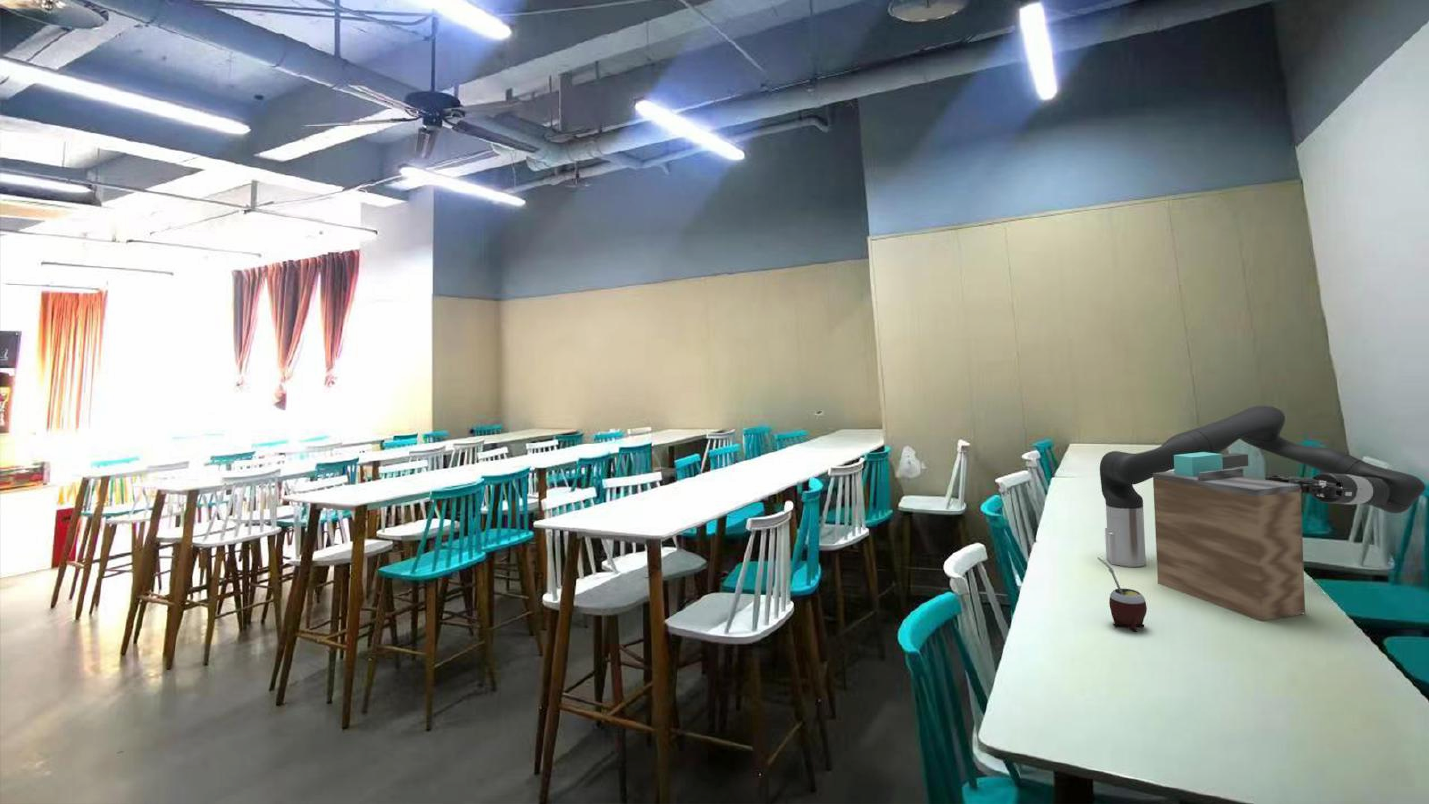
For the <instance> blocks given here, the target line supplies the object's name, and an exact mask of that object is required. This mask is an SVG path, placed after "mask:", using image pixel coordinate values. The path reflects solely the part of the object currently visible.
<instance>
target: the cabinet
mask: <svg viewBox="0 0 1429 804" xmlns="http://www.w3.org/2000/svg"><path fill="white" fill-rule="evenodd" d="M1197 475H1198V476H1196V477H1190V476H1184V475H1178V474H1175V472H1174V470H1169V471H1166V472H1159V473H1153V477H1152V485H1153V486H1152V487H1153V502H1154V503H1153V504H1154V527H1155V528H1154V529H1155V550H1156V551H1155V552H1156V570H1157V571H1156V572H1157V573H1156V574H1157V584H1159V585H1162V586H1165V587H1168V588H1169V589H1173V590H1175V591H1178V592H1181V593H1184V594H1187V595H1189V596H1192V597H1194V598H1196V599H1200V600H1203V601H1205V602H1208V603H1211V604H1213V605H1216V606H1219V607H1222V608H1224V609H1227V610H1230V611H1233V612H1235V613H1238V614H1241V615H1243V616H1246V617H1249V618H1252V619H1255V620H1257V621H1260V622H1263V621H1269V620H1270V621H1271V620H1276V619H1282V618H1289V617H1294V616H1295V615H1296V616H1300V615H1299V614H1303V613H1305V614H1306V604H1305V603H1306V600H1305V597H1306V596H1305V574H1304V549H1303V548H1304V545H1303V543H1304V542H1303V518H1302V515H1303V514H1302V492H1301V486H1300V485H1299V484H1292V483H1285V482H1278V481H1271V480H1265V479H1263V478H1258V477H1257V478H1256V477H1250V476H1244V468H1243V467H1242V468H1241V467H1234V468H1225V469H1223V470H1215V471H1206V472H1197ZM1303 615H1304V614H1303ZM1296 616H1295V617H1296Z"/></svg>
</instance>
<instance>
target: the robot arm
mask: <svg viewBox="0 0 1429 804" xmlns="http://www.w3.org/2000/svg"><path fill="white" fill-rule="evenodd" d="M1285 422H1286V417H1285V414H1284V413H1283V411H1282V410H1281V409H1279V408H1277V407H1275V406H1272V405H1271V406H1270V405H1257V406H1256V405H1255V406H1252V407H1248V408H1245V409H1244V410H1241V411H1240V412H1237V413H1234V414H1232V415H1230V416H1228V417H1225V418H1223V419H1220V420H1218V421H1214V422H1212V423H1208V424H1205V425H1202V426H1200V427H1197V428H1193V429H1189V430H1186V431H1184V432H1180V433H1178V434H1175V435H1173V436H1171V437H1170V438H1168V439H1167V440H1166V441H1165V442H1164V443H1163V444H1161V446H1158V447H1156V448H1154V449H1150V450H1146V451H1142V452H1136V453H1129V452H1125V451H1120V450H1119V451H1118V450H1113V451H1109V452H1107V453H1105V454H1104V455H1103V456H1102V458H1101V461H1100V465H1099V476H1100V477H1099V478H1100V485H1101V493H1102V496H1103V498H1104V501H1105V515H1106V517H1105V518H1106V527H1105V528H1104V534H1105V535H1104V537H1105V539H1104V540H1105V556H1106V560H1107V561H1108V563H1110V564H1111V565H1115V566H1120V567H1127V568H1129V567H1130V568H1135V567H1136V568H1140V567H1143V566H1144V567H1145V566H1146V564H1147V554H1146V535H1145V518H1144V517H1145V514H1144V513H1145V512H1144V500H1143V497H1142V495H1140V494H1139V493H1138V492H1137V491H1136V490H1135V487H1134V485H1138V484H1140V483H1143V482H1147V481H1148V480H1150V479H1153V473H1159V472H1168V471H1174V455H1180V454H1190V453H1199V452H1207V453H1216V454H1221V453H1222V452H1223V451H1225V450H1226V449H1228V448H1229V447H1230V446H1232V444H1234V443H1235V442H1237V441H1238V440H1241V441H1243V442H1244V443H1246V444H1248V445H1250V446H1252V447H1255V448H1257V449H1260V450H1263V451H1266V452H1268V453H1271V454H1274V455H1277V456H1280V457H1282V458H1285V459H1288V460H1292V461H1294V462H1297V463H1300V464H1303V465H1305V466H1308V467H1310V468H1312V469H1315V470H1317V471H1320V472H1321V473H1318V474H1316V475H1314V476H1313V477H1298V476H1292V475H1291V476H1287V475H1286V476H1285V475H1276V474H1272V476H1266V477H1265V479H1264V480H1271V481H1278V482H1285V483H1292V484H1299V485H1300V486H1301V494H1305V495H1312V497H1313V498H1314V499H1316V500H1317V501H1318V502H1321V503H1326V504H1338V505H1339V504H1340V505H1368V506H1371V507H1375V508H1378V509H1379V510H1382V511H1384V512H1386V513H1391V514H1401V513H1404V512H1406V511H1408V509H1410V508H1411V506H1412V505H1413V504H1414V503H1415V502H1417V500H1418V499H1419V498H1420V497H1421V496H1422V495H1423V494H1424V492H1425V491H1426V484H1425V482H1423V481H1422V479H1420V478H1419V477H1417V476H1415V475H1412V474H1409V473H1406V472H1401V471H1396V470H1392V469H1388V468H1385V467H1380V466H1378V465H1374V464H1371V463H1368V462H1366V461H1363V460H1361V459H1359V458H1357V457H1355V456H1352V455H1351V454H1348V453H1346V452H1343V451H1341V450H1339V449H1335V448H1330V447H1323V446H1311V445H1303V444H1298V443H1295V442H1291V441H1289V440H1287V439H1285V438H1283V437H1282V436H1280V434H1281V432H1282V430H1283V428H1284V427H1285V426H1284V425H1285Z"/></svg>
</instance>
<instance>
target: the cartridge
mask: <svg viewBox="0 0 1429 804" xmlns="http://www.w3.org/2000/svg"><path fill="white" fill-rule="evenodd" d="M1248 466H1249V454H1248V453H1235V452H1234V453H1225V454H1223V453H1219V454H1216V453H1207V452H1199V453H1190V454H1180V455H1174V469H1173V471H1174V472H1175V474H1178V475H1184V476H1190V477H1196V476H1198V475H1197V472H1206V471H1215V470H1224V469H1234V468H1241V467H1242V468H1243V467H1248Z"/></svg>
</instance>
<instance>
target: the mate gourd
mask: <svg viewBox="0 0 1429 804" xmlns="http://www.w3.org/2000/svg"><path fill="white" fill-rule="evenodd" d="M1097 559H1098V560H1099V561H1100V562H1101V563H1102V564H1104V565H1105V566H1106V567H1107V568H1108V571H1109V573H1110V574H1111V576H1112V578H1113V581H1114V584H1115V585H1116V587H1117V588H1115V589H1114V590H1112V591H1111V593H1109V609H1110V612H1111V613H1110V614H1111V617H1112V620H1113V622H1114V623H1112V626H1113V627H1114V626H1115V627H1114V628H1128V627H1129V628H1130V629H1131V630H1130V629H1129V628H1128V629H1129V630H1130V631H1132V632H1133V633H1137V632H1138V630H1137V629H1136V628H1145V624H1144V620H1145V617H1146V615H1147V612H1148V611H1147V610H1148V608H1147V602H1146V599H1145V597H1144V595H1143V594H1142V593H1141V592H1140V591H1138V590H1135V589H1132V588H1124V587H1123V588H1121V585H1120V583H1119V581H1118V580H1117V577H1116V575H1115V573H1114V572H1115V571H1114V569H1113V567H1111V566H1110V565H1109V564H1108V563H1107V562H1106V561H1105V560H1103V559H1101V557H1097Z"/></svg>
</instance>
